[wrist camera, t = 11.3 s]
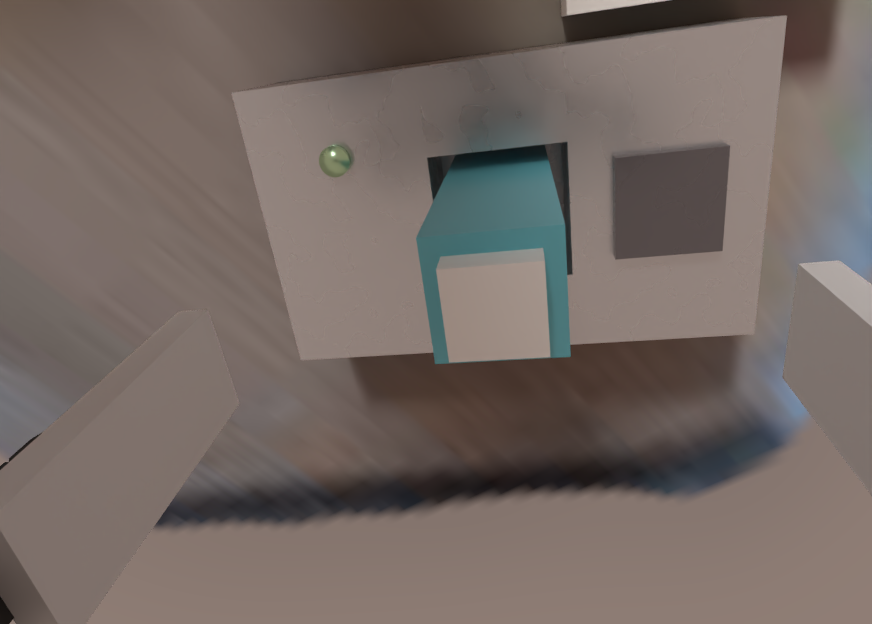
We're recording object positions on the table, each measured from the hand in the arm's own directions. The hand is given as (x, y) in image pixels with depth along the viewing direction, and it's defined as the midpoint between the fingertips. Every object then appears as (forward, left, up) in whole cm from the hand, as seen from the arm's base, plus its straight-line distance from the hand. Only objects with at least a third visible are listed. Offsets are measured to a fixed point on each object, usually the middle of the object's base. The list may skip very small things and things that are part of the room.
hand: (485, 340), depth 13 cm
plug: (0, 0, -15) cm, 15 cm away
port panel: (0, 0, -16) cm, 16 cm away
